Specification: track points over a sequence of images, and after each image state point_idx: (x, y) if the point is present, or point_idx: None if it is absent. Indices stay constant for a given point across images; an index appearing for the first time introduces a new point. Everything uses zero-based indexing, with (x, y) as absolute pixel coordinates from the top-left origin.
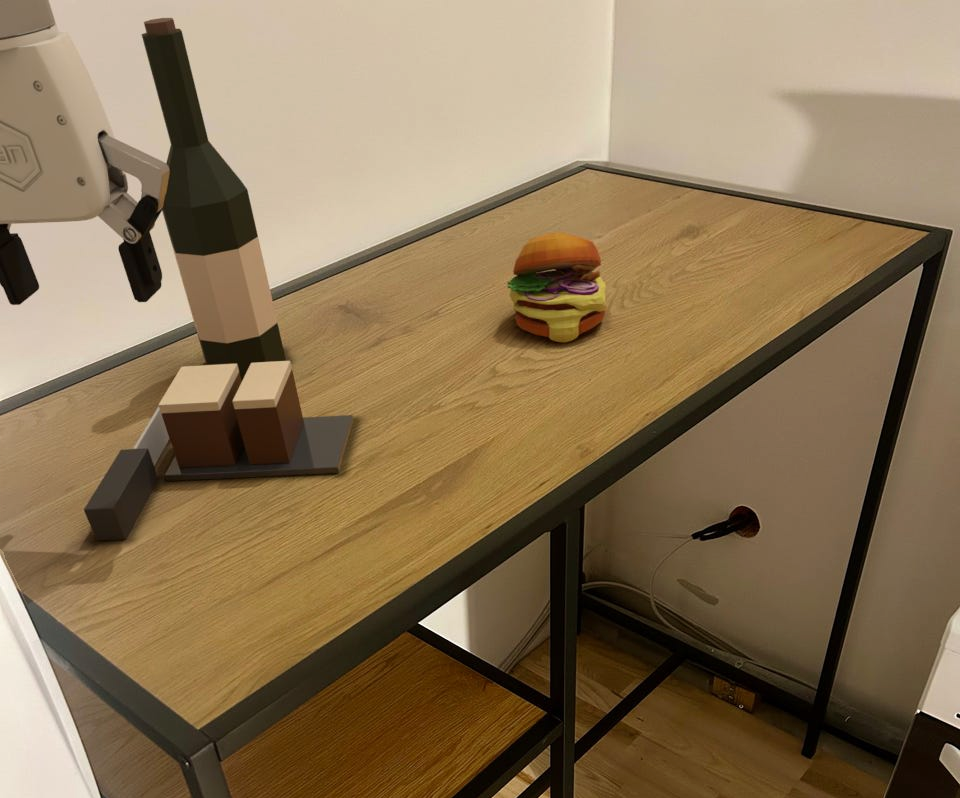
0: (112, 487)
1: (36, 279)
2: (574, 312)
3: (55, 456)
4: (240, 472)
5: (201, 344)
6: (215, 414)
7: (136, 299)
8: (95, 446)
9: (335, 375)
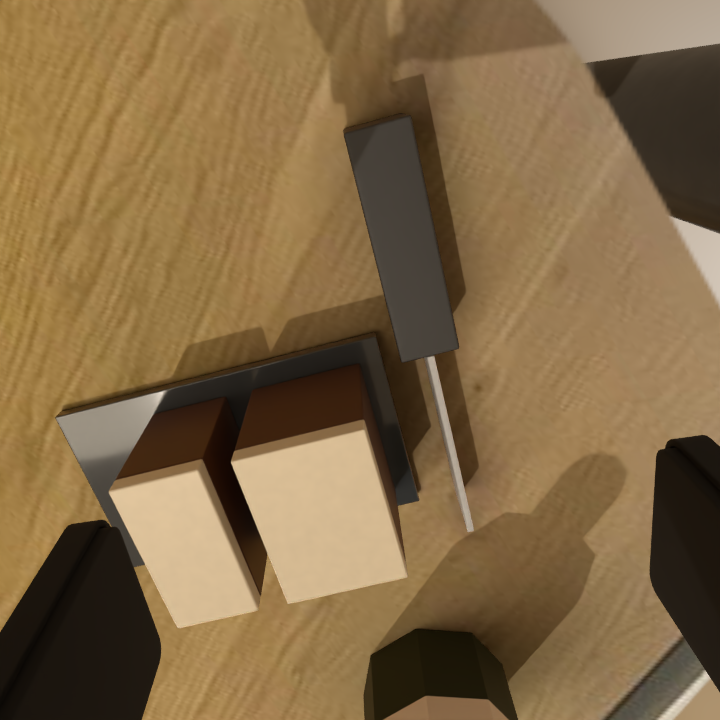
0: (393, 210)
1: (666, 606)
2: None
3: (650, 370)
4: (231, 372)
5: (490, 692)
6: (246, 442)
7: (96, 522)
8: (584, 413)
9: (253, 672)
